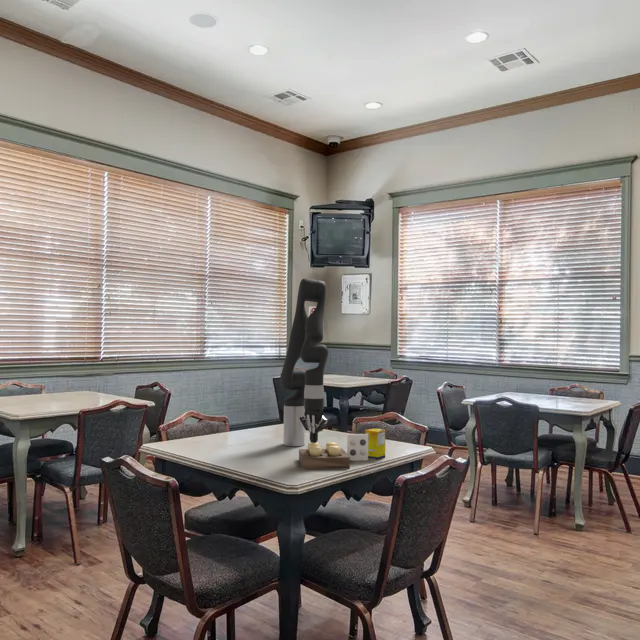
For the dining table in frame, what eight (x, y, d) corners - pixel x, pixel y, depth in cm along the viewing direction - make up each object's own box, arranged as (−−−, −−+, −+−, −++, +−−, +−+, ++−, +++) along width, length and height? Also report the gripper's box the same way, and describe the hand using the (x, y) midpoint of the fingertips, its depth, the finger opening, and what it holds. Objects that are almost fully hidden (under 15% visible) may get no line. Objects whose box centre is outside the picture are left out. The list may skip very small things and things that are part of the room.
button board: (299, 459, 234) (299, 449, 234) (342, 458, 236) (342, 448, 236) (303, 469, 217) (303, 458, 217) (349, 468, 219) (349, 457, 219)
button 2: (309, 454, 224) (309, 445, 225) (320, 454, 225) (320, 445, 225) (310, 456, 220) (310, 448, 220) (321, 456, 221) (321, 447, 221)
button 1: (307, 450, 231) (307, 442, 231) (318, 450, 232) (318, 442, 232) (308, 453, 227) (308, 444, 227) (319, 452, 228) (319, 444, 228)
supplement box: (373, 455, 244) (373, 428, 244) (385, 457, 240) (385, 429, 240) (364, 457, 239) (364, 429, 239) (377, 459, 235) (377, 431, 236)
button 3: (325, 450, 232) (325, 442, 232) (336, 450, 233) (336, 442, 233) (326, 452, 228) (326, 444, 228) (337, 452, 229) (337, 444, 229)
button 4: (327, 454, 225) (327, 445, 225) (339, 454, 226) (339, 445, 226) (329, 456, 221) (329, 447, 221) (340, 456, 222) (340, 447, 222)
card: (347, 460, 233) (347, 434, 234) (367, 459, 234) (367, 433, 235) (347, 460, 233) (347, 434, 233) (368, 460, 234) (368, 434, 234)
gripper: (333, 397, 229) (333, 443, 228) (306, 395, 237) (306, 439, 237) (321, 398, 223) (321, 446, 223) (294, 396, 231) (294, 441, 231)
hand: (313, 442), depth 230 cm, fingers closed
